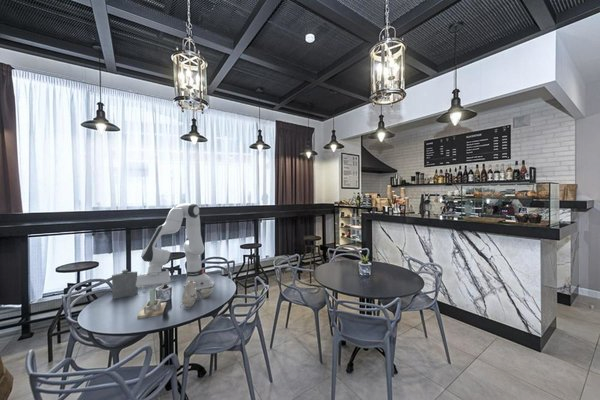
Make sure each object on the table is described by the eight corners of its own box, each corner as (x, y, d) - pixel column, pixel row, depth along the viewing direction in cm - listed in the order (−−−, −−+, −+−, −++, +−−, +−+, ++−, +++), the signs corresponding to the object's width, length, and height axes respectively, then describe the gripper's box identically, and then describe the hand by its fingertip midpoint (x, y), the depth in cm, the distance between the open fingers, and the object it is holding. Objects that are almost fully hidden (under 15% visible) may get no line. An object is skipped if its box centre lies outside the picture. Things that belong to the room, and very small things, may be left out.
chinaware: (190, 314, 162) (192, 290, 161) (169, 309, 165) (170, 285, 164) (214, 296, 189) (215, 275, 188) (195, 292, 193) (196, 272, 192)
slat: (155, 306, 166) (155, 286, 165) (154, 310, 161) (153, 289, 161) (151, 307, 165) (151, 287, 164) (149, 310, 160) (149, 289, 160)
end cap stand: (166, 304, 173) (166, 296, 173) (162, 314, 158) (162, 306, 158) (143, 307, 168) (143, 299, 168) (137, 318, 153) (137, 310, 153)
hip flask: (112, 299, 182) (111, 272, 181) (113, 297, 185) (112, 271, 185) (137, 294, 190) (137, 269, 190) (138, 292, 194) (137, 267, 193)
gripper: (136, 272, 165) (132, 292, 156) (170, 268, 172) (168, 287, 164) (138, 276, 169) (135, 296, 161) (171, 273, 177) (169, 291, 168)
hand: (152, 291), depth 162 cm, fingers open, 8 cm apart
